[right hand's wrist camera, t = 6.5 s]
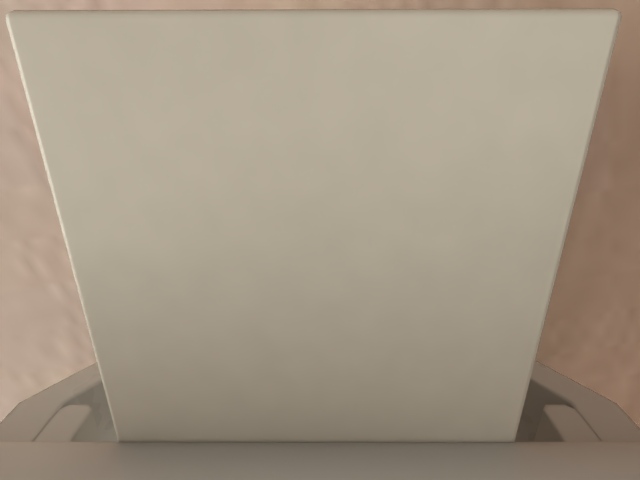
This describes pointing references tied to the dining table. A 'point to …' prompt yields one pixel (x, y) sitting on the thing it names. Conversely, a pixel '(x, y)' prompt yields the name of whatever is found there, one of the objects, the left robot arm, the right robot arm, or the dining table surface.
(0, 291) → the dining table surface
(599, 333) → the dining table surface
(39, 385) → the dining table surface
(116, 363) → the cream rectangular bar
